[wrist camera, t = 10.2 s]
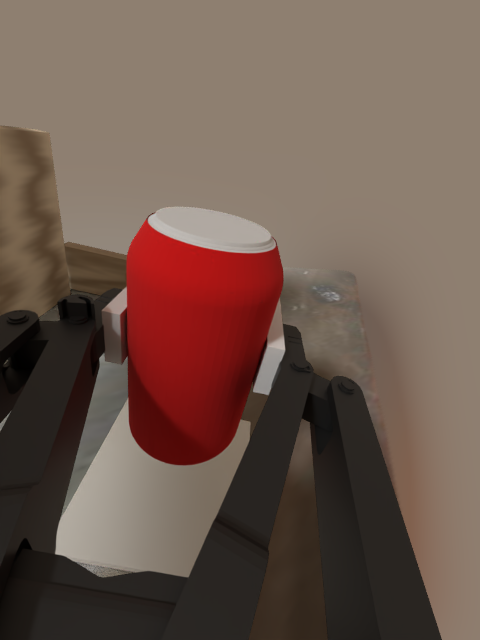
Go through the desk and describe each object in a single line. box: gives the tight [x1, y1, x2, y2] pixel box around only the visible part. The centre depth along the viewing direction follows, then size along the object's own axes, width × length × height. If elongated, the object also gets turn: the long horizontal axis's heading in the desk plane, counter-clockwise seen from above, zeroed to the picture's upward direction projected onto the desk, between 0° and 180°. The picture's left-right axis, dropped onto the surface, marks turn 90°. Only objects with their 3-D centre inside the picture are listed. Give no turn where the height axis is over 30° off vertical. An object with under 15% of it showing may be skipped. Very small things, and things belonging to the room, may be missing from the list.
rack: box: [0, 126, 127, 318], centre depth 24 cm, size 23×18×18 cm
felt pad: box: [55, 399, 251, 577], centre depth 20 cm, size 11×11×1 cm
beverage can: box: [126, 207, 283, 466], centre depth 13 cm, size 6×6×12 cm
